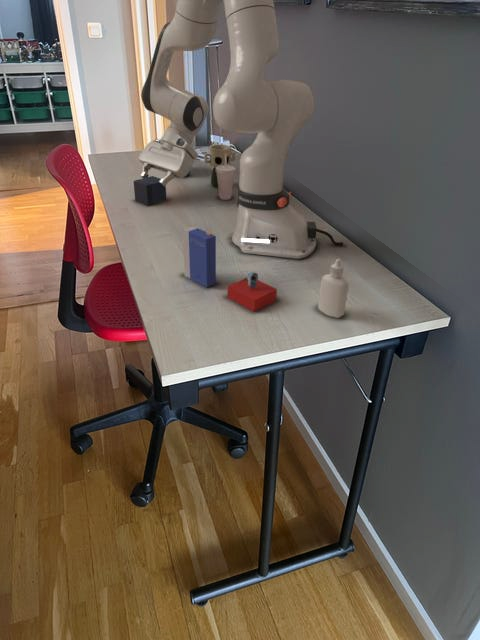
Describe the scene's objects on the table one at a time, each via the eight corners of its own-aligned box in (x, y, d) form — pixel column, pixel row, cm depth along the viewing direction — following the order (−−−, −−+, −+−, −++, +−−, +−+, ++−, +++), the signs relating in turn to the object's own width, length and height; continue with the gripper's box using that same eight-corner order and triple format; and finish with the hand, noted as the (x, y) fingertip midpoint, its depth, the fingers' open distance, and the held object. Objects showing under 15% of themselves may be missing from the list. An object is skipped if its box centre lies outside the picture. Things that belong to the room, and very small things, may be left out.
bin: (147, 206, 155) (146, 185, 152) (135, 200, 159) (133, 180, 155) (166, 200, 160) (165, 180, 156) (153, 195, 163) (152, 175, 160)
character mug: (208, 190, 169) (207, 150, 162) (201, 183, 175) (201, 145, 168) (238, 187, 173) (239, 148, 166) (231, 180, 178) (231, 143, 171)
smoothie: (236, 195, 166) (236, 151, 158) (233, 201, 160) (234, 157, 153) (216, 194, 166) (216, 150, 158) (214, 200, 161) (213, 156, 153)
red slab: (227, 297, 109) (227, 271, 105) (249, 287, 113) (250, 261, 110) (254, 311, 104) (255, 284, 101) (275, 300, 108) (277, 274, 105)
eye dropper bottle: (334, 304, 107) (342, 252, 101) (346, 317, 103) (354, 265, 96) (315, 306, 106) (322, 254, 100) (326, 320, 102) (333, 267, 95)
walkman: (216, 283, 114) (215, 234, 107) (206, 287, 112) (206, 237, 106) (193, 272, 119) (192, 224, 112) (184, 275, 117) (182, 227, 110)
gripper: (147, 131, 161) (125, 168, 160) (190, 143, 149) (167, 183, 149) (159, 144, 166) (138, 179, 165) (202, 156, 155) (179, 194, 154)
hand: (152, 181), depth 157 cm, fingers open, 8 cm apart
